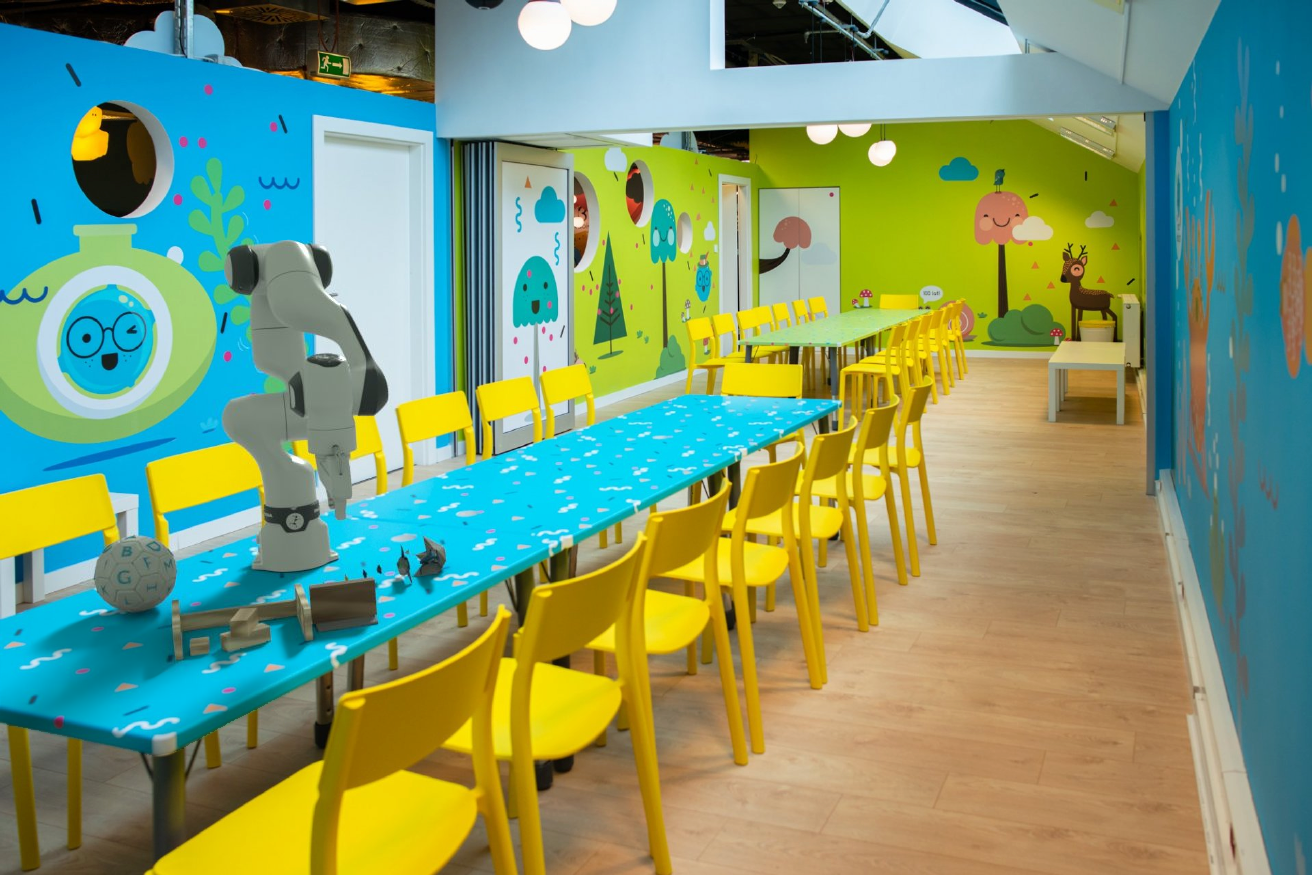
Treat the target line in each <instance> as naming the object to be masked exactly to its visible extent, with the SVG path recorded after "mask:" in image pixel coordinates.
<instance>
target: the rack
mask: <svg viewBox="0 0 1312 875" xmlns="http://www.w3.org/2000/svg"><path fill="white" fill-rule="evenodd" d="M293 586H294V598H293V599H286V600H277V601H272V602H270V601H269V602H263V603H257V604H247V605H242V606H240V605H239V606H234V607H233V606H232V607H225V608H219V609H218V608H217V609H210V610H204V611H197V612H189V613H188V612H187V613H181V609H180V599H172V600H171V620H172V621H171V622H172V624H171V625H172V629H171V630H172V636H173V637H172V638H173V639H172V640H173V649H174V656H175V657H174V659H175V661H182V660H183V659H184V652H183V651H184V650H183V632H190V631H195V630H202V629H204V630H205V629H211V628H217V626H219V627H224V626H226V627H227V626H230V620H231V619H232V618H233V617H234V615H235V614H236V613H237V612H238V611H239V609H243V608H257V614H258V622H260V621H261V622H262V621H267V620H273V619H274V618H276V619H280V618H281V619H282V618H289V616H290V617H297V619H298V621H299V624H300V626H301V630H302V633H303V636H304V639H305V641H306V642H309V641H313V640H314V633H313V623H312V619H311V608H310V602H309V600H308V598H307V595H306V593H305V590H304V588H303V586H302V584H301V583H294V585H293Z"/></svg>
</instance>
